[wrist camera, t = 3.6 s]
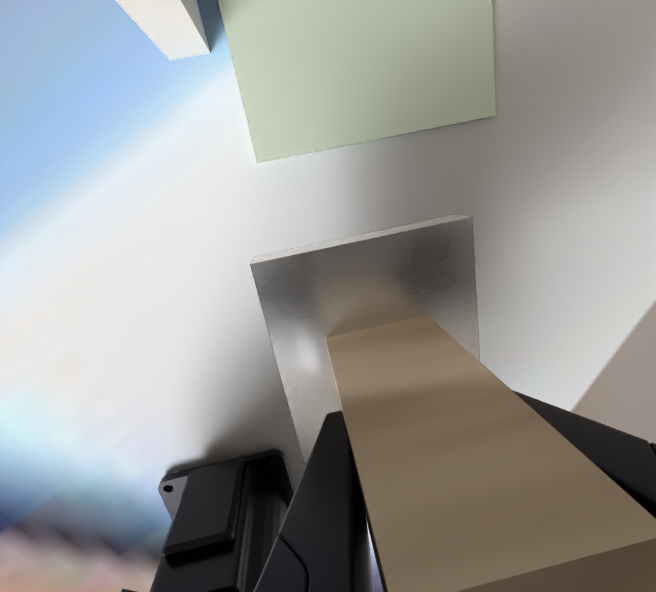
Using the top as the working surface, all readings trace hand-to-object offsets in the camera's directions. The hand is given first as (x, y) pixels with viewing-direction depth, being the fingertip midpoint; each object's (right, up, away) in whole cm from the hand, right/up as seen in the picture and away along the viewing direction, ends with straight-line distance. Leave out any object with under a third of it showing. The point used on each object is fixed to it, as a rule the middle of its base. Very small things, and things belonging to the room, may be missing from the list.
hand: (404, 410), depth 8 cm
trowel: (0, +1, +3) cm, 3 cm away
